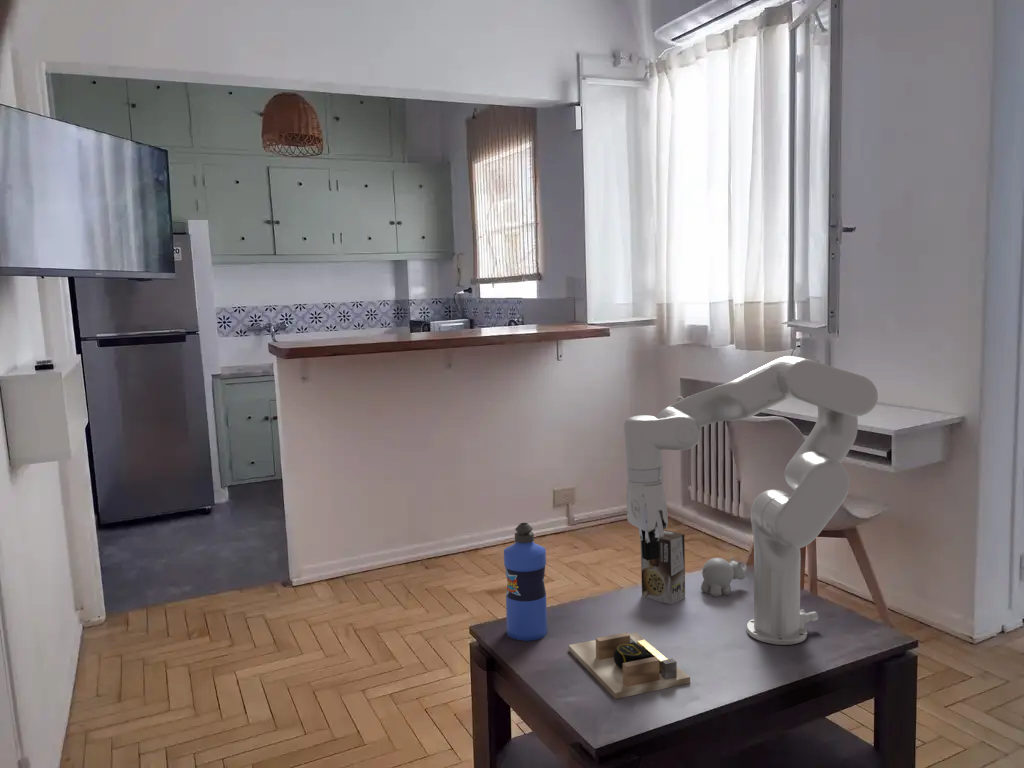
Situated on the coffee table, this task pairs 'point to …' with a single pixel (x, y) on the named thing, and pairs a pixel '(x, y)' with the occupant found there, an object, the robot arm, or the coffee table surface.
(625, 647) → the tape measure
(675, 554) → the coffee box
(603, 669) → the dock
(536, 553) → the water bottle
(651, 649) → the yellow bar
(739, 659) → the coffee table surface
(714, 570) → the white animal figurine
